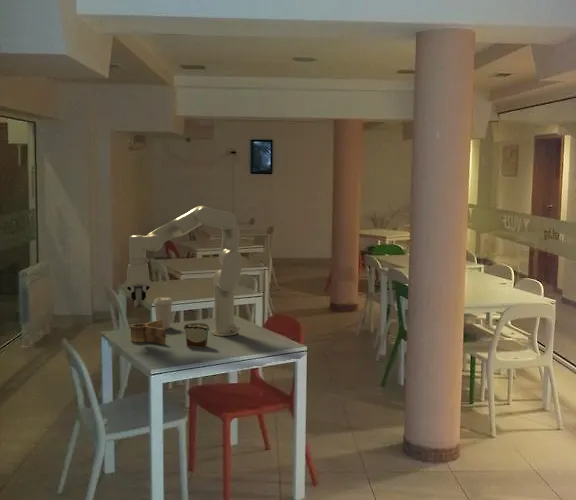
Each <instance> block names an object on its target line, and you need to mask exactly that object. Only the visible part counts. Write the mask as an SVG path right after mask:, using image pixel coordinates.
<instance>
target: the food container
mask: <svg viewBox="0 0 576 500" xmlns="http://www.w3.org/2000/svg"><path fill="white" fill-rule="evenodd" d="M183 330H184V332H185V333H184V334H185V341H186V347H190V348H196V349H197V348H198V349H199V348H200V349H207V347H208V335H209V332H210V326H209V324H207V323H202V322H201V323H200V322H193V323H186V324H184V326H183Z"/></svg>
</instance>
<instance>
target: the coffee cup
mask: <svg viewBox="0 0 576 500" xmlns="http://www.w3.org/2000/svg"><path fill="white" fill-rule="evenodd" d="M153 304H154V311H155V321H157V320H162V329H165V330H168V329H170V328H171V319H172V308H173V307H172V306H173V300H172V298H171V297H167V296H164V297H156V298H155V299H154V301H153Z"/></svg>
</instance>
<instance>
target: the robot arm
mask: <svg viewBox="0 0 576 500" xmlns="http://www.w3.org/2000/svg"><path fill="white" fill-rule="evenodd" d="M201 225H204V226H209V227H212V228H216V229H220V230H221V231H220V232H221V244H220V250H219V253H218V254H219V255H218V262H219V264H220V265H221V269H219V270H217V271H216V272H215V273H214V275H213V278H212V282H213V283H212V284H213V285H212V286H213V293H214V304H213V305H214V309H213V310H214V329H212V330H211V335H214V336H218V337H219V336H220V337H228V336H234V335H237V334H238V333H240V330H241V328H240V327H238V326H237V324H236V323H235V292H234V291H235V290H236V288H238V286H239V282H240V277H241V272H242V266H243V257H242V254H241V253H240V251H239V246H240V239H241V232H240V228H239V226H238V223H237V218H236V216H235V215H234V213H233V212H230V211H226V210H221V209H215V208H213V207H209V206H204V205H198V206H195V207H194V208H192V209H191V210H189V211H188V212H186V213H184V214H182V215H180V216H178V217H177V218H175V219H173V220H170V222H167V223H165V224H163V225H162V226H160V227H157V228H156V229H155V230H152V231H151V232H149V233H148V234H146V235H142V234H134V235H133V234H132V235H130V236H129V238H128V247H129V249H128V250H129V251H128V252H129V253H128V254H129V255H128V256H129V264H128V265H127V269H126V270H127V271H126V280H125V281H124V283H123V285H122V287H123V288H126V289H127V290H128V291H129V292H130V296H131V297H130V299H131V300H132V301H133V302H134V301H135V298H134V286H135V284H142V286H143V302H144V301H145V299H147V291H148V290H149V289H150V288H152V287H153V286H154V283H153V282H152V280H151V279H150V273H149V272H150V269H149V265H148V263H149V262H150V258H147V254H146V253H147V251H151V252H157V251H159V250H161V249H162V247H163V245H164V243H165V242H167V241H169V240H172V239H175V238H177V237H182V236H184V235H187V234H188V233H190V232H191V231H193V230H195V229H196V228H199V227H200V226H201Z"/></svg>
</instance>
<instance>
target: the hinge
mask: <svg viewBox="0 0 576 500" xmlns="http://www.w3.org/2000/svg"><path fill="white" fill-rule="evenodd" d="M130 342H131V343H132V342H134V343H143V342H147V343H148V342H149V343H153V344H158V345H159V344H161V345H165V344H166V329H162V320H157V321H156V320H153V321H149V322H146V323H134V324H130Z"/></svg>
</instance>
